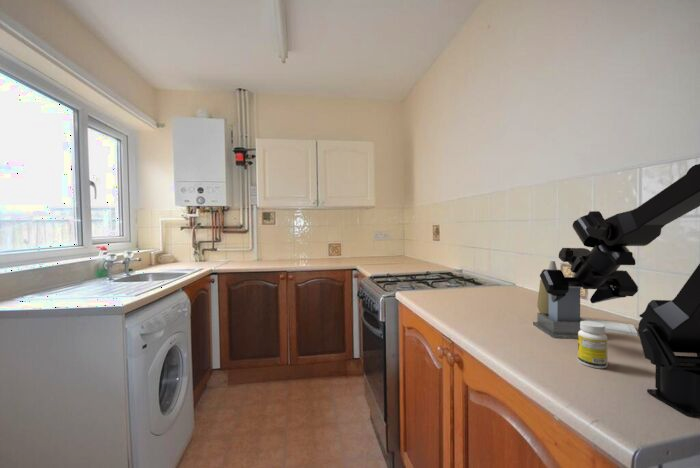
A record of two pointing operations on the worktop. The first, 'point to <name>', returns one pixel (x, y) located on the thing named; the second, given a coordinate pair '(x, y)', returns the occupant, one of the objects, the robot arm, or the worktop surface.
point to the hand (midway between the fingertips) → (571, 301)
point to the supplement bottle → (592, 344)
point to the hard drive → (617, 327)
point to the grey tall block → (566, 306)
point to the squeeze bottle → (544, 294)
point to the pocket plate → (558, 326)
